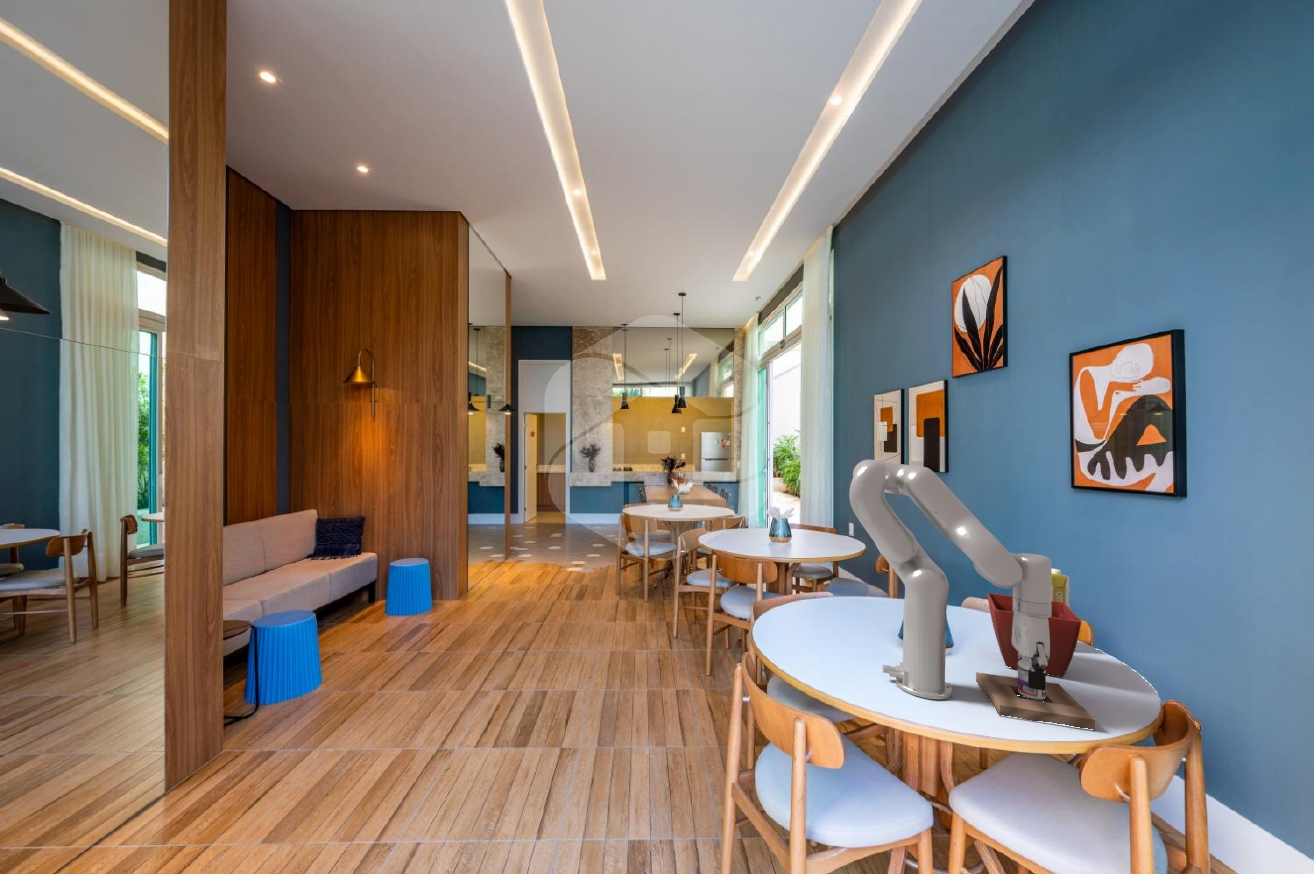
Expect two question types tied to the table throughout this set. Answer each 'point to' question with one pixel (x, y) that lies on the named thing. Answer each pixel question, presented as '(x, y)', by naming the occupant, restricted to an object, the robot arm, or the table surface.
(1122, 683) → the table surface
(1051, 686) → the socket block
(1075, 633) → the plant pot
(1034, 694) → the pill bottle
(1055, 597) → the juice carton
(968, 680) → the table surface
